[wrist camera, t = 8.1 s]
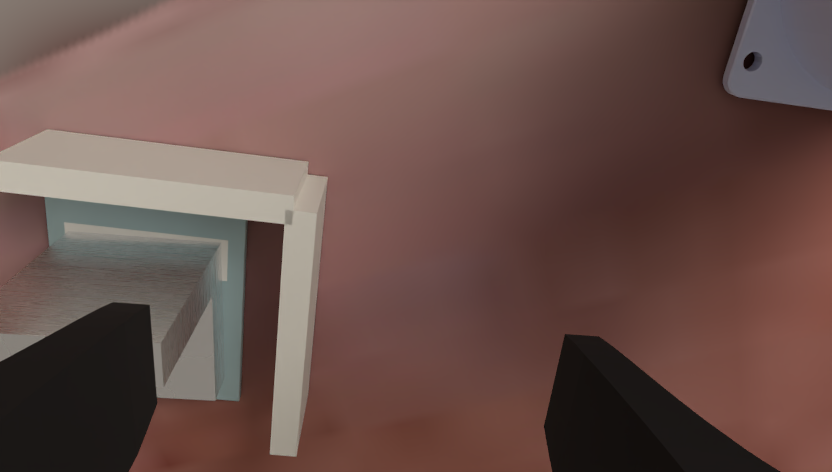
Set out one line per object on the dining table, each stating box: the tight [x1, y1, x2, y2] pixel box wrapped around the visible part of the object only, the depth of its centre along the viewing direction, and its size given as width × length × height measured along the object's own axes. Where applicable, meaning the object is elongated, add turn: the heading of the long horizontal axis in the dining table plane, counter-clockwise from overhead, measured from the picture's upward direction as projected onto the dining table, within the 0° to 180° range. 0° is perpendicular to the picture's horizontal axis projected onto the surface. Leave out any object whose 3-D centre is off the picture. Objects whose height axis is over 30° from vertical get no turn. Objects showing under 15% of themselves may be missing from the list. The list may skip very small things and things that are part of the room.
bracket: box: [0, 231, 225, 401], centre depth 17 cm, size 5×4×6 cm
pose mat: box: [45, 197, 248, 401], centre depth 20 cm, size 7×6×1 cm
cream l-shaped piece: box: [0, 129, 328, 457], centre depth 18 cm, size 8×8×3 cm
